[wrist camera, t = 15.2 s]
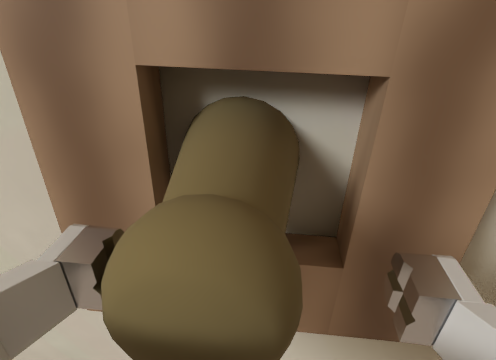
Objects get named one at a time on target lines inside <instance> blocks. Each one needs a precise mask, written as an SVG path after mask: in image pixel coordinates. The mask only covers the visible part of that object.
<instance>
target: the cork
mask: <svg viewBox="0 0 496 360" xmlns="http://www.w3.org/2000/svg"><path fill="white" fill-rule="evenodd" d="M298 164H299V141H298V139H297V136H296V134H295V131H294V129H293V126H292V125H291V123H290V122H289V121H288V120H287V119H286V118H285V116H284V115H283V114H282V113H281V112H280V111H279V110H277V109H276V108H274V107H272V106H271V105H269V104H267V103H266V102H264V101H261V100H257V99H253V98H249V97H244V96H243V97H230V98H223V99H221V100H219V101H216V102H214V103H212V104H209V105H207V106H206V107H205V108H204V109H203V110H202V111H201V112H200V113H198V114H197V115H196V116H195V117H194V119H193V121H192V123H191V125H190V127H189V128H188V130H187V132H186V135H185V138H184V141H183V144H182V147H181V150H180V153H179V155H178V158H177V161H176V164H175V167H174V170H173V173H172V176H171V179H170V181H169V184H168V187H167V190H166V193H165V196H164V199H163V202H162V203H159V204H158V205H156V206H155V207H154V208H152V209H151V210H150V211H148V212H147V213H146V214H144V215H143V216H142V217H141V218H140V219H138V220H137V221H136V222H135V223H133V224H132V225H131V226H130V227H129V228H127V230H126V231H125V232H124V234H123V235H122V237H121V238H120V239H119V241H118V242H117V244H116V246H115V248H114V250H113V252H112V254H111V256H110V258H109V260H108V262H107V265H106V268H105V271H104V275H103V278H102V281H101V292H102V310H103V321H104V323H105V325H106V327H107V329H108V331H109V333H110V335H111V337H112V339H113V340H114V341H115V342H116V343H117V344H118V345H119V346H120V347H121V348H122V349H123V350H124V351H125V353H126V354H127V355H128V356H130V357H131V358H132V359H133V360H280V358H281V357H282V356H283V354H284V353H285V351H286V350H287V348H288V347H289V345H290V343H291V341H292V339H293V337H294V335H295V333H296V331H297V329H298V327H299V322H300V318H301V314H302V309H303V297H302V278H301V268H300V266H299V263H298V261H297V259H296V256H295V254H294V252H293V250H292V248H291V245H290V243H289V241H288V239H287V237H286V235H285V232H286V226H287V221H288V216H289V211H290V206H291V200H292V195H293V190H294V185H295V179H296V174H297V169H298Z"/></svg>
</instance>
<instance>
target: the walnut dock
mask: <svg viewBox="0 0 496 360" xmlns="http://www.w3.org/2000/svg"><path fill="white" fill-rule="evenodd" d="M0 50H1V53H2V56H3V59H4V62H5V65H6V68H7V71H8V74H9V77H10V80H11V83H12V86H13V89H14V92H15V95H16V98H17V101H18V104H19V107H20V110H21V113H22V116H23V119H24V122H25V125H26V128H27V131H28V134H29V137H30V140H31V143H32V146H33V149H34V152H35V155H36V158H37V161H38V164H39V167H40V170H41V173H42V176H43V179H44V182H45V185H46V188H47V191H48V194H49V197H50V200H51V203H52V206H53V209H54V212H55V215H56V218H57V221H58V224H59V227H60V230H61V233H63V232H64V231H65V230H66V229H67V228H68V227H69V226H70V225H73V224H81V225H93V226H102V227H111V228H120V229H122V230H123V231H124V232H125V231H126V230H127V228H129V227H130V226H131V225H132V224H133V223H135V222H136V221H137V220H138V219H140V218H141V217H142V216H143V215H144V214H146V213H147V212H148V211H150V210H151V209H152V208H154V207H155V206H156V205H158V204H159V203H162V202H163V199H164V196H165V193H166V190H167V187H168V184H169V181H170V179H171V177H170V167H169V158H168V148H167V139H166V130H165V120H164V111H163V101H162V92H161V83H160V73H159V66H169V67H190V68H212V69H233V70H254V71H275V72H297V73H318V74H339V75H360V76H370V81H369V86H368V90H367V95H366V100H365V104H364V109H363V114H362V119H361V123H360V128H359V133H358V137H357V142H356V147H355V151H354V156H353V161H352V165H351V170H350V175H349V180H348V184H347V189H346V194H345V198H344V203H343V208H342V212H341V217H340V222H339V227H338V231H337V236H336V237H327V236H315V235H302V234H290V233H285V235H286V237H287V239H288V241H289V243H290V245H291V248H292V250H293V252H294V254H295V256H296V259H297V261H298V263H299V266H300V268H301V278H302V297H303V309H302V314H301V318H300V322H299V327H298V329H297V331H298V332H307V333H317V334H327V335H337V336H347V337H356V338H366V339H376V340H386V341H396V342H400V341H399V338H398V335H397V332H396V329H395V326H394V324H393V321H392V319H393V317H394V314H395V313H394V312H393V311H392V310H391V309H390V308H389V307H388V306H387V302H386V299H385V294H384V282H385V278H386V275H387V273H388V272H390V271H391V270H392V269H393V267H392V264H391V260H392V257H393V255H394V254H395V253H396V252H400V253H413V254H426V255H444V256H452V257H454V258H455V259H456V260H457V261H458V263H459V264H460V262H461V260H462V258H463V256H464V254H465V251H466V249H467V247H468V245H469V243H470V241H471V239H472V237H473V235H474V233H475V231H476V229H477V227H478V225H479V223H480V221H481V219H482V216H483V214H484V212H485V210H486V208H487V206H488V204H489V202H490V200H491V198H492V196H493V194H494V192H495V190H496V0H0ZM87 310H91V311H101V312H103V310H95V309H87Z"/></svg>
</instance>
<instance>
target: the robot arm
mask: <svg viewBox="0 0 496 360" xmlns="http://www.w3.org/2000/svg"><path fill="white" fill-rule="evenodd" d="M123 234H124V231H123V230H122V229H120V228H111V227H102V226H93V225H81V224H73V225H70V226H69V227H68V228H67V229H66V230H65V231H64V232H63V233H62V234H61V235H60V236H59V237H58V238H57V239H56V240H55V241H54V242H53V243H52V244H51V245H50V246H49V247H48V249H47V250H46V251H45V252H44V253H43V254H42V255H41V256H40V257H39V258H38V259H37V260H30V261H27V262H25V263H23V264H21V265H19V266H17V267H15V268H13V269H10V270H8V271H6V272H4V273H2V274H0V360H12V359H13V358H14V357H16V356H17V355H18V354H20V353H21V352H22V351H24V350H25V349H26V348H27V347H29V346H30V345H31V344H33V343H34V342H35V341H37V340H38V339H39V338H41V337H42V336H43V335H44V334H46V333H47V332H48V331H50V330H51V329H52V328H54V327H55V326H56V325H57V324H59V323H60V322H61V321H63V320H64V319H65V318H67V317H68V316H69V315H71V314H72V313H73V312H74V311H76V310H77V308H82V309H95V310H102V292H101V281H102V278H103V275H104V271H105V268H106V265H107V262H108V260H109V258H110V256H111V254H112V252H113V250H114V248H115V246H116V244H117V242H118V241H119V239H120V238H121V237H122V235H123ZM391 264H392V267H393V269H392V270H391V271H390V272H388V273H387V275H386V278H385V282H384V294H385V299H386V302H387V306H388V307H389V308H390V309H391V310H392V311H393V312H394V313H395V314H394V317H393V319H392V321H393V324H394V326H395V329H396V332H397V335H398V338H399V341H400V342H405V343H413V344H420V345H428V346H433V347H432V348H433V349H434V350H435V351H436V352H437V353H438V354H439V356H440V357H441V358H442V359H443V360H496V307H495V306H494V305H493V304H489V303H485V302H484V300H483V299H482V297H481V296H480V294H479V293H478V291H477V290H476V288H475V287H474V285H473V284H472V282H471V281H470V279H469V278H468V276H467V275H466V273H465V272H464V270H463V269H462V267H461V266H460V264H459V263H458V261H457V260H456V259H455V258H454V257H452V256H444V255H426V254H413V253H400V252H396V253H395V254H394V255H393V257H392V260H391Z"/></svg>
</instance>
